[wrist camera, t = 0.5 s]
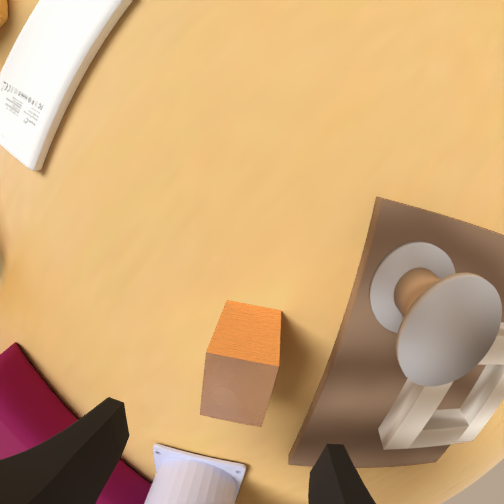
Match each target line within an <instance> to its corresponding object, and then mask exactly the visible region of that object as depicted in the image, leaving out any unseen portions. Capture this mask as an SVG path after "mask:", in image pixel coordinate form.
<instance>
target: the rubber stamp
mask: <svg viewBox="0 0 504 504" xmlns="http://www.w3.org/2000/svg"><path fill="white" fill-rule="evenodd" d="M7 20H8V5H7V0H0V28H1V26H2V25H3V24H4V23H5V22H6V21H7Z"/></svg>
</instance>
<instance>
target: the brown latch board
mask: <svg viewBox="0 0 504 504" xmlns="http://www.w3.org/2000/svg"><path fill="white" fill-rule="evenodd" d="M503 399H504V235H502V234H499V233H496V232H494V231H491V230H488V229H485V228H482V227H479V226H476V225H473V224H470V223H467V222H464V221H461V220H457V219H454V218H451V217H448V216H445V215H441V214H438V213H435V212H431V211H428V210H424V209H421V208H417V207H414V206H410V205H406V204H403V203H399V202H395V201H391V200H388V199H384V198H380V197H376V200H375V205H374V209H373V214H372V218H371V222H370V226H369V230H368V234H367V238H366V242H365V246H364V250H363V254H362V257H361V261H360V265H359V268H358V272H357V275H356V279H355V282H354V286H353V289H352V292H351V296H350V299H349V302H348V305H347V308H346V312H345V315H344V318H343V321H342V324H341V327H340V330H339V333H338V336H337V338H336V341H335V344H334V347H333V350H332V353H331V355H330V358H329V361H328V364H327V366H326V369H325V371H324V374H323V377H322V379H321V382H320V384H319V387H318V389H317V392H316V394H315V397H314V399H313V402H312V404H311V407H310V409H309V411H308V414H307V416H306V418H305V421H304V423H303V425H302V427H301V430H300V432H299V434H298V436H297V439H296V441H295V443H294V445H293V447H292V449H291V451H290V454H289V462H288V465H298V466H311V467H314V465H315V463H316V462H317V460H318V458H319V457H320V455H321V453H322V451H323V450H324V448H325V446H326V444H343V445H344V446H345V448H346V450H347V452H348V454H349V456H350V458H351V460H352V462H353V464H354V466H355V468H373V467H393V466H406V465H416V464H425V463H433V462H436V461H437V460H438V459H439V458H440V457H441V455H442V454H443V453H444V452H445V451H446V450H447V448H448V447H449V446H450V445H451V444H456V443H463V442H469V441H473V440H474V439H475V437H476V436H477V435H478V433H479V432H480V431H481V430H482V428H483V427H484V426H485V424H486V423H487V422H488V420H489V419H490V418H491V416H492V415H493V413H494V412H495V411H496V409H497V408H498V406H499V405H500V403H501V402H502V400H503Z"/></svg>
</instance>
